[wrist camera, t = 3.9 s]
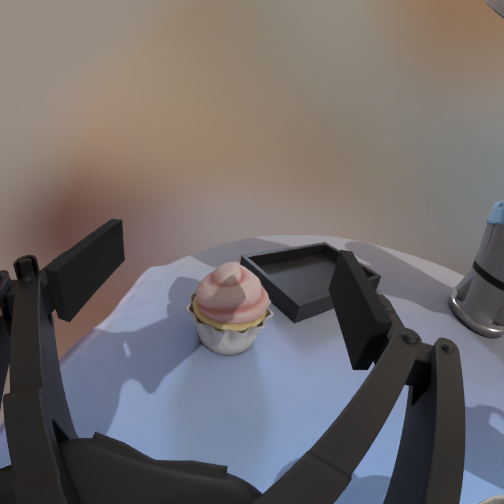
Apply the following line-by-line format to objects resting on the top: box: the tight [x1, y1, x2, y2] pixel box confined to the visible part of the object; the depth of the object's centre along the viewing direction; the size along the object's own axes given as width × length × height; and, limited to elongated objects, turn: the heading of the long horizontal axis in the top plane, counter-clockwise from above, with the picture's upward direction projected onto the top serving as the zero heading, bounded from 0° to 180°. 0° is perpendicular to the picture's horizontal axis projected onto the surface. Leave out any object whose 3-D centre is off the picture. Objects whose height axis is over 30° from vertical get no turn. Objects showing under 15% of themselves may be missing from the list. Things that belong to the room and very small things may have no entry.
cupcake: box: [186, 261, 274, 355], centre depth 29 cm, size 9×9×10 cm
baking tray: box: [240, 242, 381, 323], centre depth 45 cm, size 20×15×3 cm
